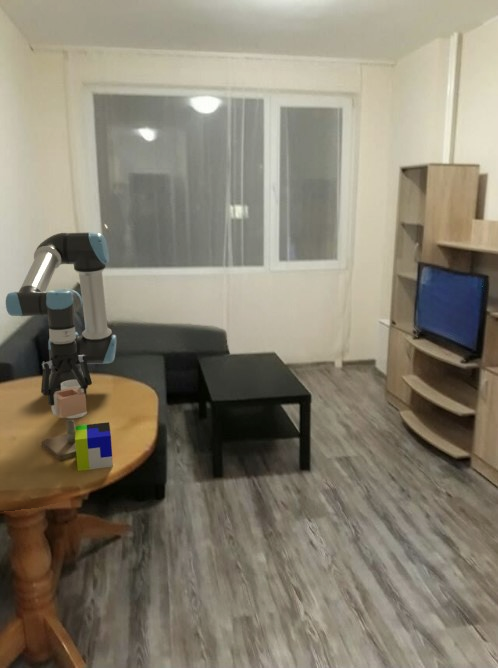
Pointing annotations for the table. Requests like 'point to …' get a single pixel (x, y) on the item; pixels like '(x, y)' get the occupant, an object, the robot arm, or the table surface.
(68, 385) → the mug
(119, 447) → the table surface
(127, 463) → the table surface
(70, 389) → the collar
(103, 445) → the puzzle toy
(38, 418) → the table surface
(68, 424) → the square plate with peg
